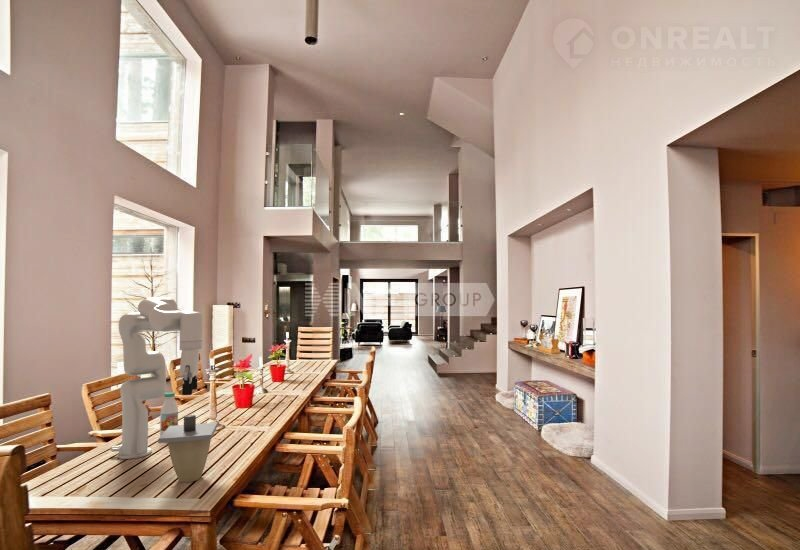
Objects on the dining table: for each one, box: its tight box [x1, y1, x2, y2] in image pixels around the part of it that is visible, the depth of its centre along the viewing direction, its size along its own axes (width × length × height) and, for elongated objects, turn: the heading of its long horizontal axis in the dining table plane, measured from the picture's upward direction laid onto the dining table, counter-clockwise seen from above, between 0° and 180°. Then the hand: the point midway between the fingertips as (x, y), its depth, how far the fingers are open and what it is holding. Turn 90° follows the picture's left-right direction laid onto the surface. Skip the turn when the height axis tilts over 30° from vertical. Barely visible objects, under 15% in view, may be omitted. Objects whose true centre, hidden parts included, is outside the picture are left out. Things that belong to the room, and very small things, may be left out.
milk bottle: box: [159, 391, 179, 436], centre depth 227 cm, size 8×8×20 cm
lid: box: [157, 414, 218, 444], centre depth 171 cm, size 17×17×6 cm
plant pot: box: [167, 438, 212, 483], centre depth 170 cm, size 15×15×16 cm
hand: (189, 392), depth 172 cm, fingers open, 9 cm apart
